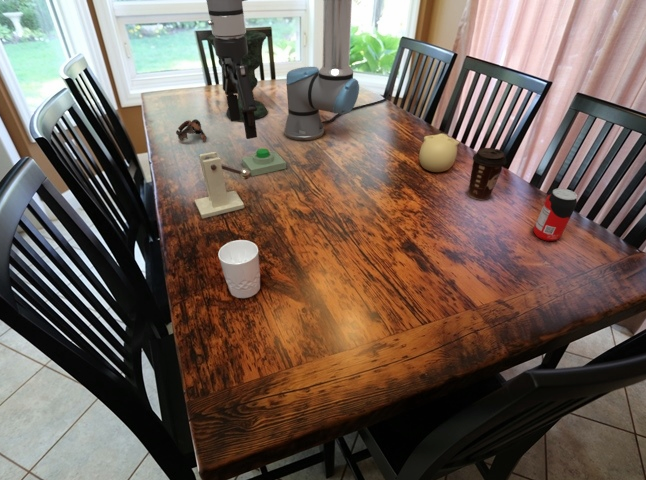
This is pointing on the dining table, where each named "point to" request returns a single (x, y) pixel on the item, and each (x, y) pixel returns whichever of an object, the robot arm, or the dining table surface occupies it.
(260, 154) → the light button
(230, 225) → the dining table surface
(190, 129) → the dark curved strip cluster
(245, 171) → the switch lever
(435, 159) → the sculpture
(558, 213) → the beverage can
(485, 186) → the coffee cup
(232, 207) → the switch bracket
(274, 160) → the button block
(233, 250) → the white cup
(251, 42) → the goblet
